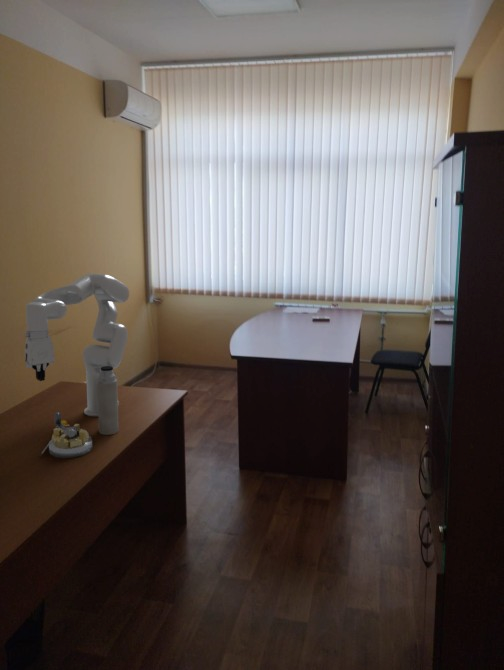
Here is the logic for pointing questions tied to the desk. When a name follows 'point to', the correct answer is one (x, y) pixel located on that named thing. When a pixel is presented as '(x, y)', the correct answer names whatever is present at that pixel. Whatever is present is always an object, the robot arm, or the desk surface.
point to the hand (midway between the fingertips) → (40, 379)
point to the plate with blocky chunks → (69, 451)
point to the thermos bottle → (107, 401)
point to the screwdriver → (53, 434)
